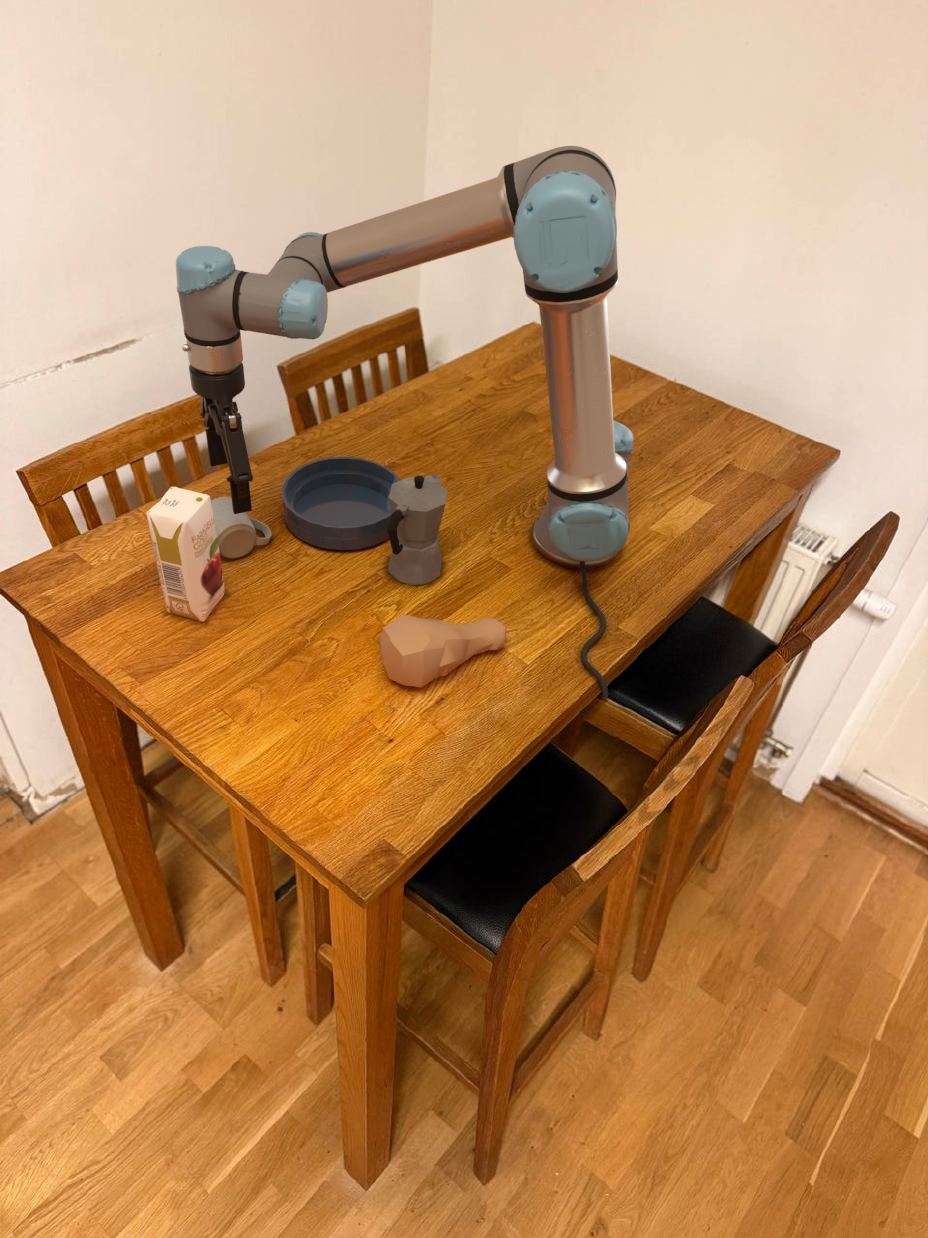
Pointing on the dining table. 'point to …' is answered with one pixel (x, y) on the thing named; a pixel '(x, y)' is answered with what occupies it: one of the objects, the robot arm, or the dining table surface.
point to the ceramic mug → (236, 530)
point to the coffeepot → (416, 529)
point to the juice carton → (187, 553)
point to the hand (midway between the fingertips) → (230, 486)
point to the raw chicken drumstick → (434, 646)
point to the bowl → (339, 502)
